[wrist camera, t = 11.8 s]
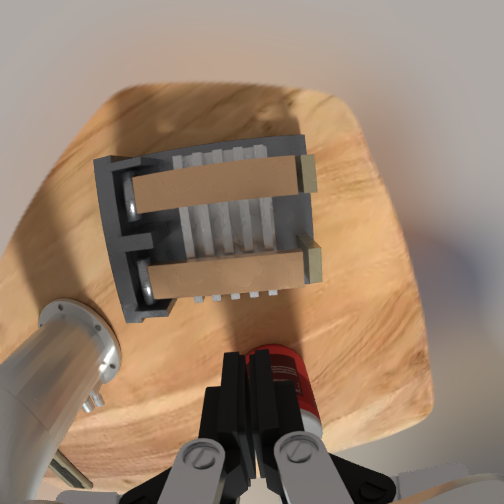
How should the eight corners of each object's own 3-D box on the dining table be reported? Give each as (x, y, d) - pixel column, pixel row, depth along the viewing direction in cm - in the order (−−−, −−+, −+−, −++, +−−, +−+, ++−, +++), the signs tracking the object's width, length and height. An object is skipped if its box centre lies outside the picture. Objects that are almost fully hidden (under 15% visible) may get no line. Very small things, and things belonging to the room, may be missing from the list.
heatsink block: (312, 277, 29) (330, 307, 23) (141, 294, 30) (117, 326, 23) (301, 136, 26) (319, 125, 19) (118, 162, 26) (83, 161, 19)
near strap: (297, 199, 22) (299, 201, 20) (131, 219, 22) (125, 222, 21) (292, 149, 21) (293, 148, 19) (125, 173, 21) (118, 173, 20)
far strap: (303, 287, 23) (305, 293, 22) (148, 299, 24) (143, 305, 23) (300, 241, 22) (302, 245, 21) (138, 257, 23) (133, 262, 22)
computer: (95, 483, 43) (91, 493, 40) (72, 478, 43) (68, 487, 40) (54, 442, 39) (48, 452, 36) (33, 438, 39) (27, 447, 36)
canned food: (271, 401, 34) (279, 469, 23) (224, 369, 32) (217, 440, 22) (318, 366, 33) (340, 434, 22) (271, 329, 31) (282, 398, 20)
